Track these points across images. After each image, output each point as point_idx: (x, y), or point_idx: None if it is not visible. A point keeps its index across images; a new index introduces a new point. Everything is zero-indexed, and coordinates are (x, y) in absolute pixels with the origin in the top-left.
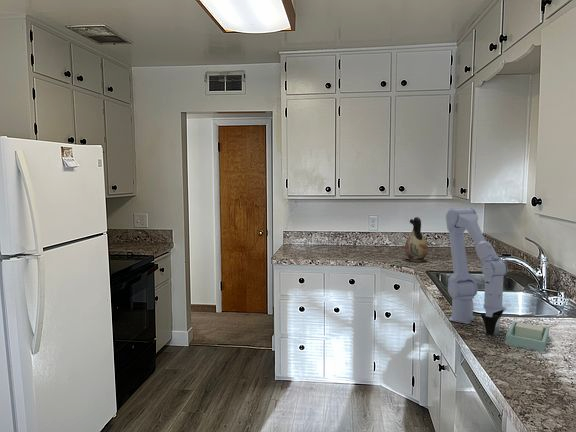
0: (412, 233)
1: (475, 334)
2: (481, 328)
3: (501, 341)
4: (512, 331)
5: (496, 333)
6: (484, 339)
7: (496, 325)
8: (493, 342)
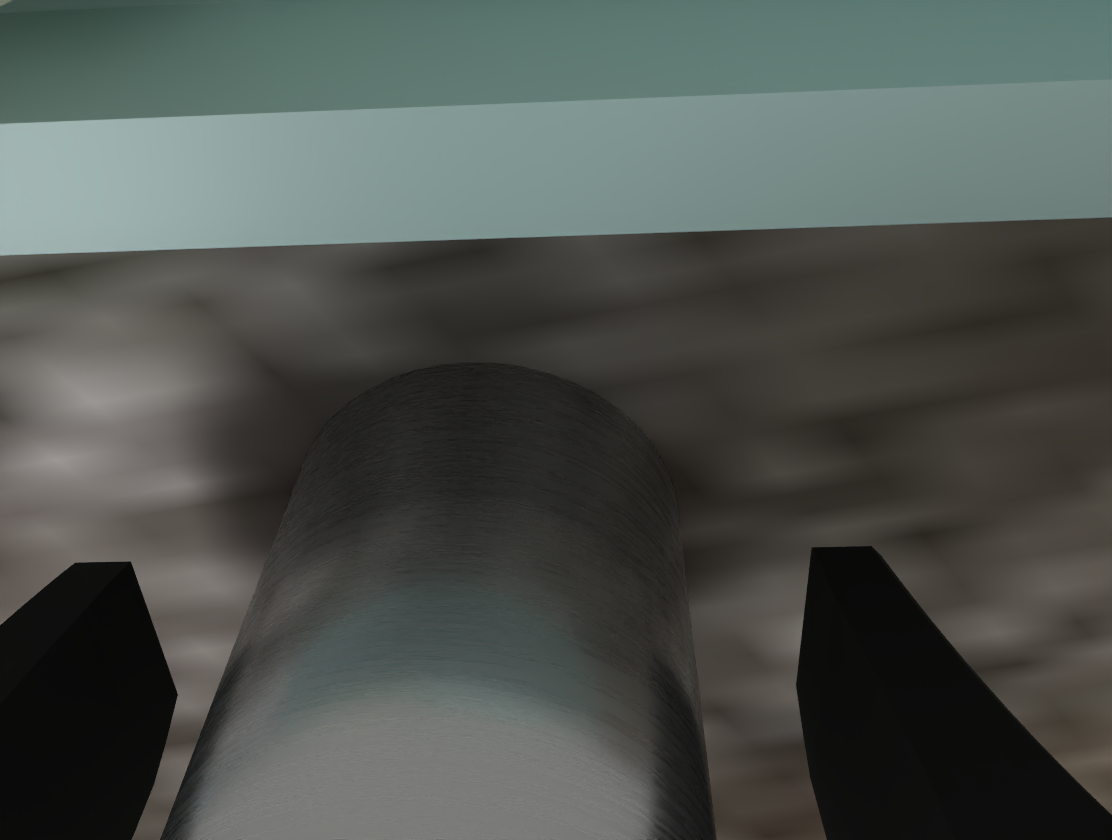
0: None
1: None
2: None
3: (839, 231)
4: (284, 52)
5: (616, 499)
6: None
7: (640, 742)
8: (1053, 398)
